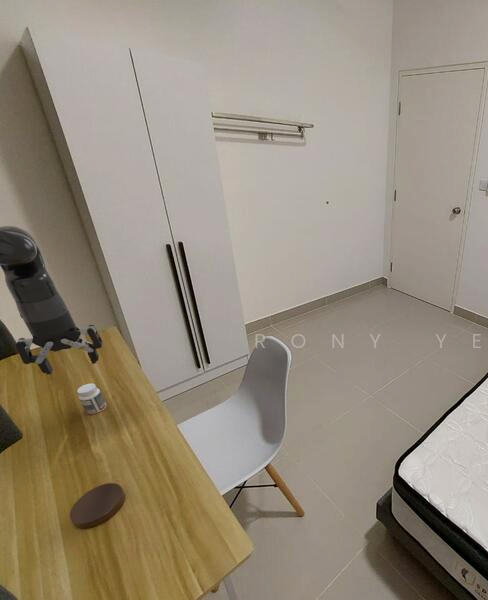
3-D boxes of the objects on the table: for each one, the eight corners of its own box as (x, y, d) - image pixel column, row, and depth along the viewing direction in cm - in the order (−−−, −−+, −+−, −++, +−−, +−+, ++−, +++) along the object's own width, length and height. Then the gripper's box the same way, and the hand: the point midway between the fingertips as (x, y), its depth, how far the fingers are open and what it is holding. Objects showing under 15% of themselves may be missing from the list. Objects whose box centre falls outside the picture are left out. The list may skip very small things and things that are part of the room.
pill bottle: (103, 400, 101) (93, 380, 98) (109, 407, 99) (99, 387, 95) (84, 409, 98) (73, 388, 94) (89, 417, 96) (78, 396, 92)
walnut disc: (67, 536, 69) (64, 531, 68) (79, 498, 76) (76, 493, 75) (121, 516, 73) (118, 511, 72) (127, 482, 80) (125, 476, 79)
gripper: (88, 300, 83) (110, 351, 90) (6, 312, 76) (38, 367, 83) (83, 313, 78) (107, 366, 85) (-5, 328, 70) (30, 385, 78)
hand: (73, 367), depth 84 cm, fingers open, 8 cm apart
